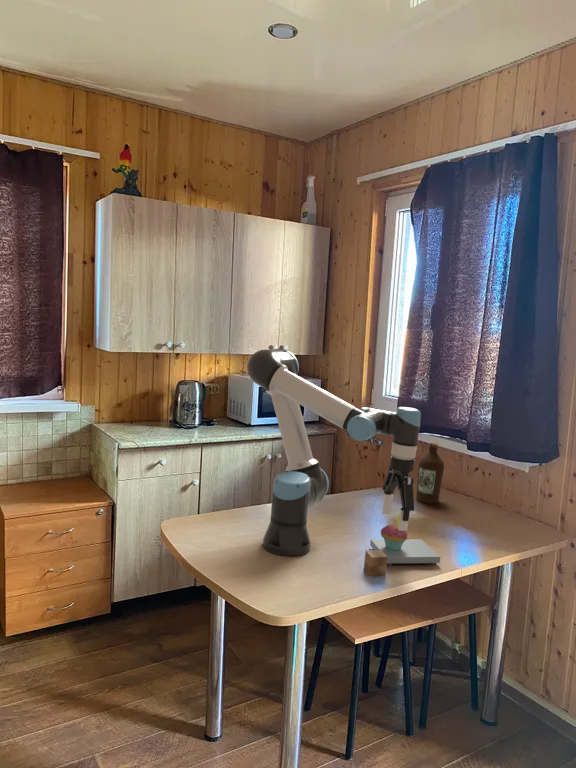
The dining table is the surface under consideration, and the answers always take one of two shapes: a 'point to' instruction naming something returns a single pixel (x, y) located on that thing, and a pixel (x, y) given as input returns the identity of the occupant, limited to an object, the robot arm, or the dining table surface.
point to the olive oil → (430, 476)
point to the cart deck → (407, 552)
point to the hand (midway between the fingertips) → (394, 521)
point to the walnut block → (375, 563)
